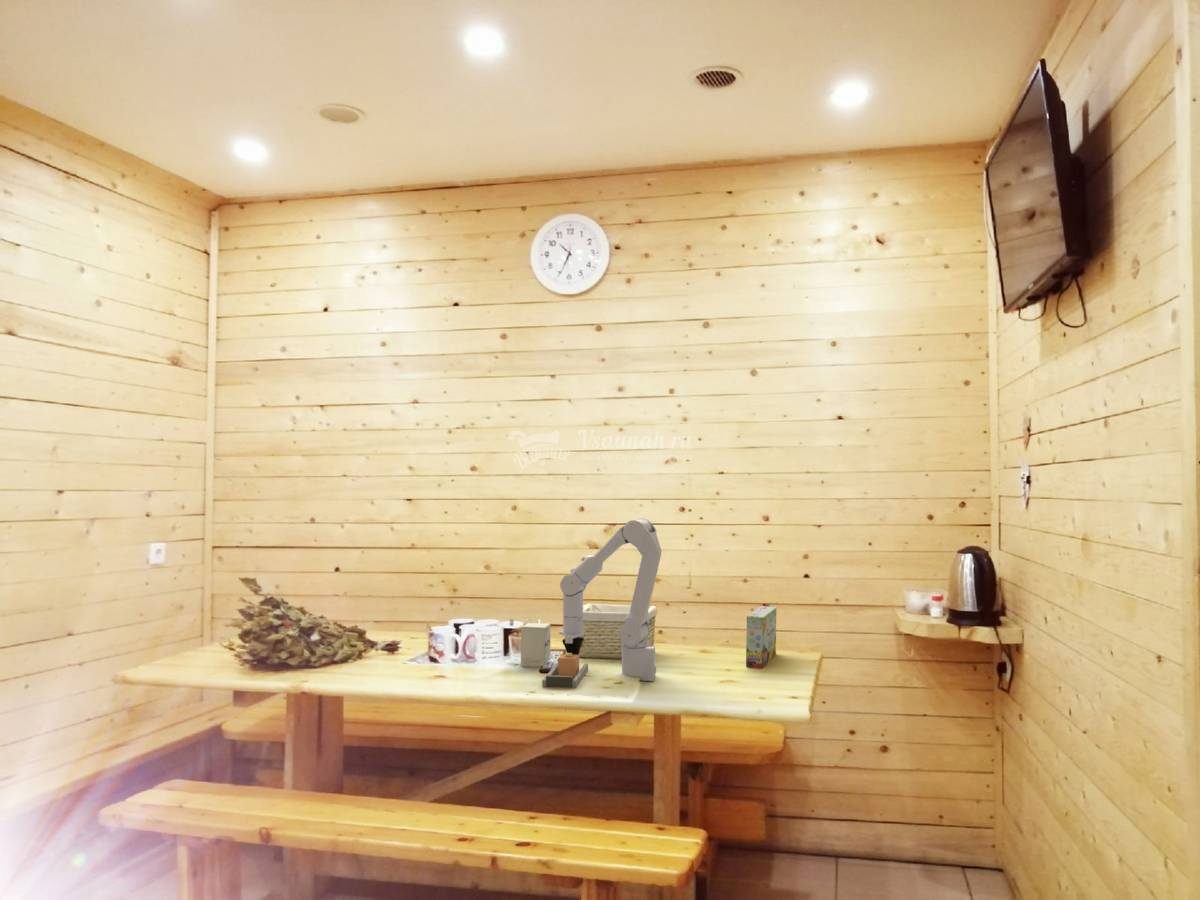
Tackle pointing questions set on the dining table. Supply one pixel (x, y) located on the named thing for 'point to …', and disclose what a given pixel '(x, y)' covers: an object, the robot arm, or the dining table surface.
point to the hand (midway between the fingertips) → (573, 663)
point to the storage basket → (608, 629)
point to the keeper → (568, 665)
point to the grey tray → (563, 678)
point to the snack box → (761, 637)
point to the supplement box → (535, 644)
